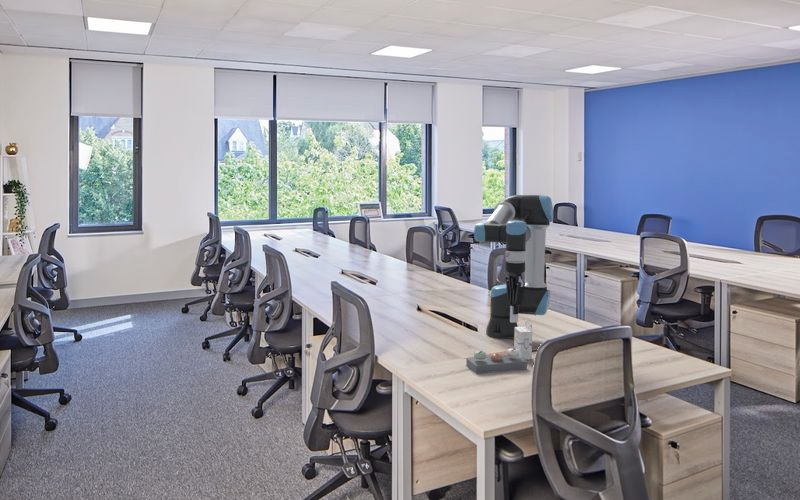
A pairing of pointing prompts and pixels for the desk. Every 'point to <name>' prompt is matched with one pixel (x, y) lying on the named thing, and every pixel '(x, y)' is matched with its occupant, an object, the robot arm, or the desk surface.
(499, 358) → the terracotta button
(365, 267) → the desk surface
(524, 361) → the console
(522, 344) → the ink cartridge box
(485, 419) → the desk surface
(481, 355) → the sage button
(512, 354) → the cream button
